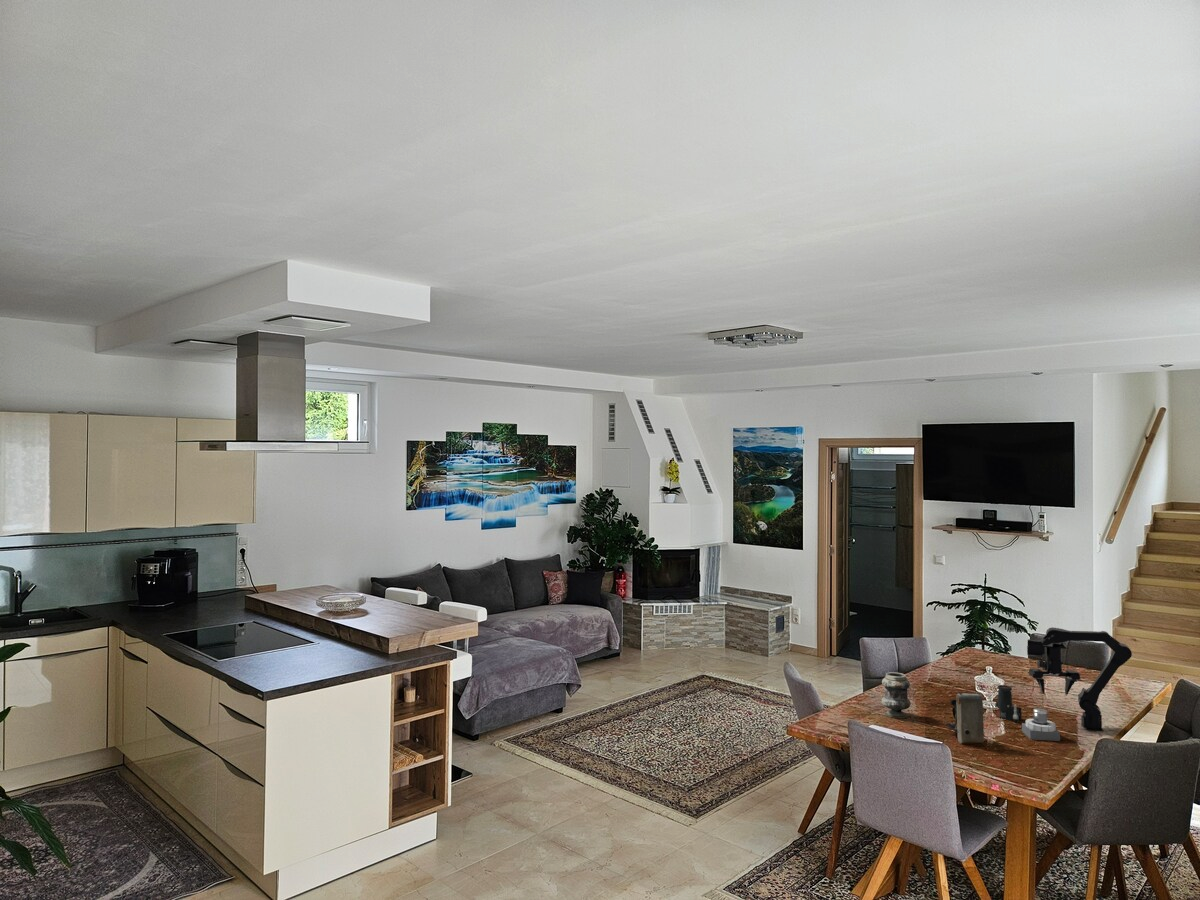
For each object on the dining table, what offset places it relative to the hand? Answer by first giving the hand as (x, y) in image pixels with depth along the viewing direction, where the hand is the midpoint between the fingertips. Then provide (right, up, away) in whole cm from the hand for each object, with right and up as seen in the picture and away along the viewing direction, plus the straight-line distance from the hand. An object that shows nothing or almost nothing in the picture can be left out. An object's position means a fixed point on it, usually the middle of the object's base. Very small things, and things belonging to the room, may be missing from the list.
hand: (1054, 694), depth 339 cm
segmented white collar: (-15, -12, -16) cm, 25 cm away
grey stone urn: (-64, -13, +12) cm, 66 cm away
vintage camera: (-48, -12, -19) cm, 53 cm away
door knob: (-15, -9, -16) cm, 24 cm away
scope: (-17, -13, +6) cm, 22 cm away
